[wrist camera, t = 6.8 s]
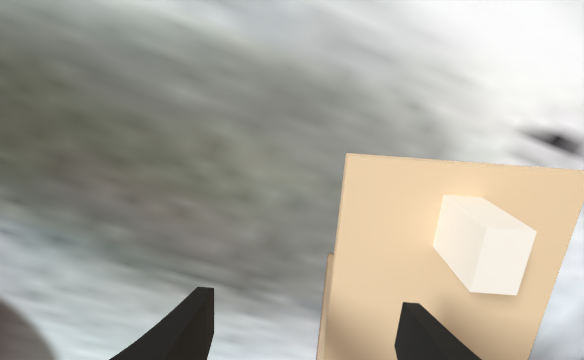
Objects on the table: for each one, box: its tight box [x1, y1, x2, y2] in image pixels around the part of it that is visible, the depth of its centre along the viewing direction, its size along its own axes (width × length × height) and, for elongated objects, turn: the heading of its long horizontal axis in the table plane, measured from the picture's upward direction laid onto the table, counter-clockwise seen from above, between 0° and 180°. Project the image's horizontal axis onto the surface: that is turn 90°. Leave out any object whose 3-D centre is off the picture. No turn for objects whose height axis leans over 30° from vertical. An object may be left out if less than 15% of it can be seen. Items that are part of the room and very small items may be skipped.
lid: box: [322, 153, 584, 360], centre depth 17 cm, size 14×12×5 cm
